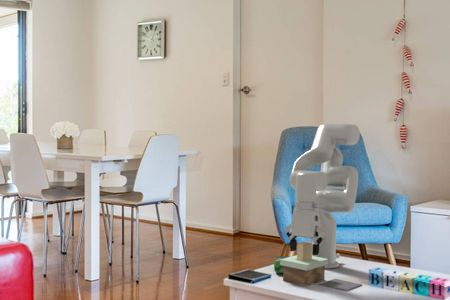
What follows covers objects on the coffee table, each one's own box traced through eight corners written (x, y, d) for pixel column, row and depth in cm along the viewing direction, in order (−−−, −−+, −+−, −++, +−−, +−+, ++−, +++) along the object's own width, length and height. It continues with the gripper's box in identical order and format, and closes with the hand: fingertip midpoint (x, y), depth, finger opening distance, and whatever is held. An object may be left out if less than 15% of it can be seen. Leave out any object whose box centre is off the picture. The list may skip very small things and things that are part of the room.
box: (301, 275, 218) (302, 256, 218) (324, 280, 211) (324, 261, 211) (282, 280, 209) (283, 261, 209) (305, 286, 202) (306, 266, 202)
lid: (301, 259, 219) (302, 238, 219) (328, 264, 211) (328, 242, 211) (279, 264, 209) (280, 243, 208) (307, 270, 201) (307, 247, 200)
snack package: (272, 276, 216) (273, 262, 216) (275, 266, 231) (276, 253, 231) (291, 277, 215) (292, 263, 215) (293, 267, 230) (294, 254, 230)
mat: (335, 279, 212) (335, 278, 212) (362, 285, 205) (362, 284, 205) (318, 285, 204) (318, 284, 204) (346, 291, 196) (346, 290, 196)
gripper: (331, 207, 206) (330, 255, 206) (292, 203, 218) (290, 248, 218) (320, 209, 200) (318, 258, 201) (280, 204, 212) (279, 250, 212)
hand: (304, 252), depth 209 cm, fingers open, 9 cm apart
